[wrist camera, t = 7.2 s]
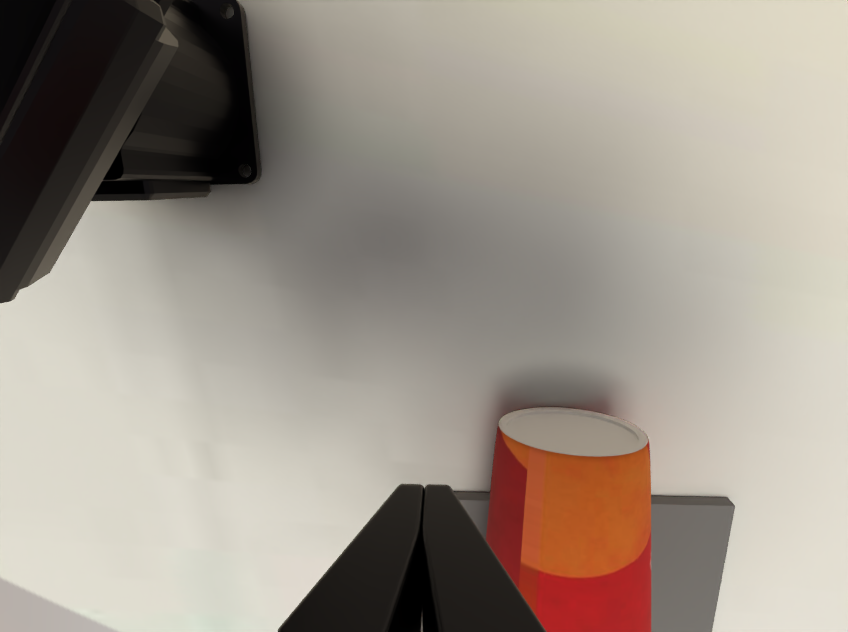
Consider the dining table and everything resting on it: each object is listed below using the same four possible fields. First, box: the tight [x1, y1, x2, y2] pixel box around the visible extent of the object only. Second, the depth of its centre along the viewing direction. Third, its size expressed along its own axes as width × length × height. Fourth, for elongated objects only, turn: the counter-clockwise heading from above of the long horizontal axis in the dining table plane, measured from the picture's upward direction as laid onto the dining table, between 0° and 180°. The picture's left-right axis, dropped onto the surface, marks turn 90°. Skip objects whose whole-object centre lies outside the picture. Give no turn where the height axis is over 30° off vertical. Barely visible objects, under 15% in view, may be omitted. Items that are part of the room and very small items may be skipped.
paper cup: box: [486, 407, 651, 632], centre depth 19 cm, size 8×8×14 cm
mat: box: [421, 492, 735, 632], centre depth 24 cm, size 13×15×1 cm
